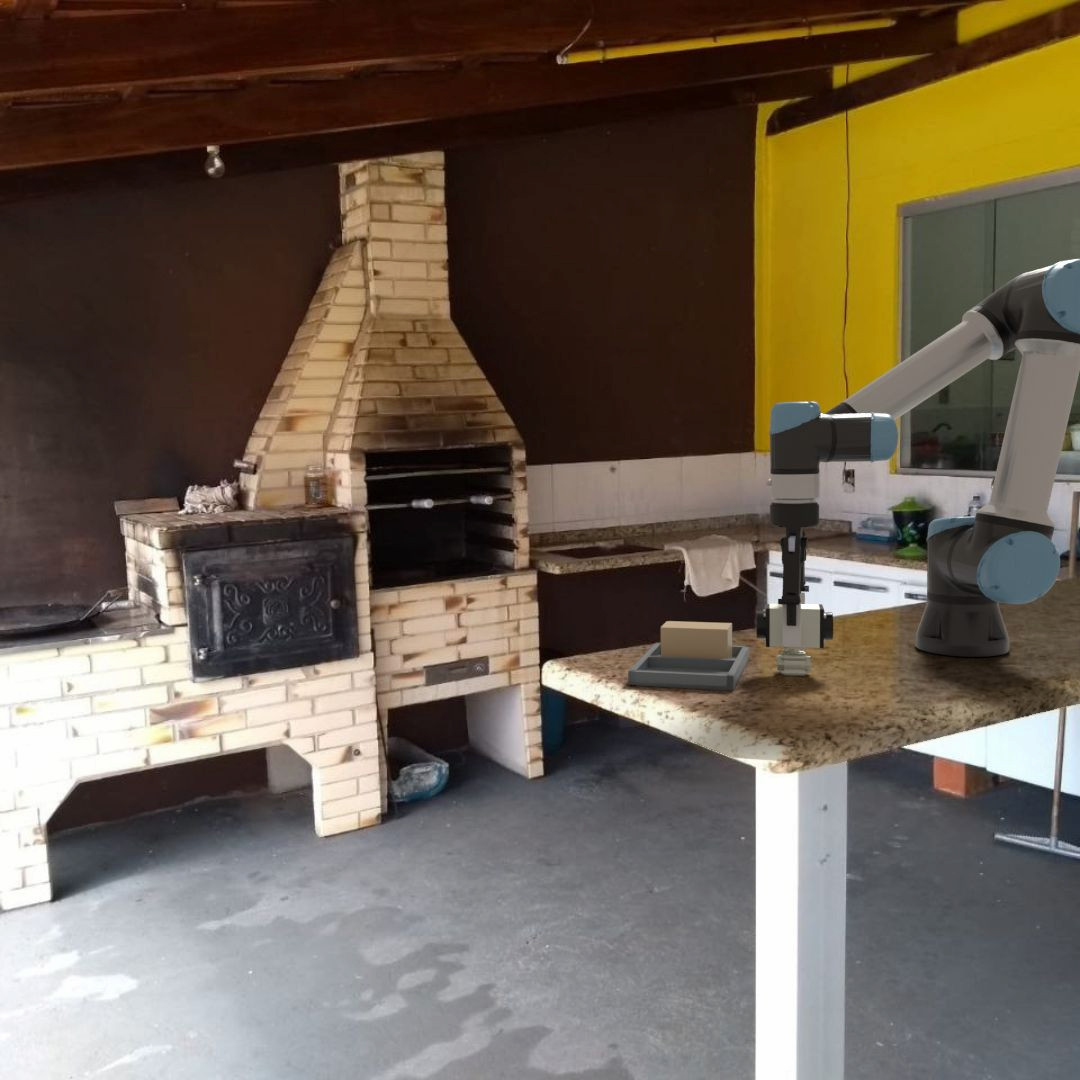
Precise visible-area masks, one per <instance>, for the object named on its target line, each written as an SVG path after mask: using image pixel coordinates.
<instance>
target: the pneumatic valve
mask: <svg viewBox="0 0 1080 1080" xmlns="http://www.w3.org/2000/svg"><path fill="white" fill-rule="evenodd" d="M755 613H756V615H755V616H756V619H755V620H756V621H755V622H756V623H755V624H756V629H755V631H756V637H755V638H756V640H760V639H761V640H763V642H765V647H766V648H783V649H784V650H783V651H781V652H780V655H777V656H776V670H777V671H780V674H781V675H783V676H787V677H789V676H790V677H799V676H800V677H805V676H807V674H808V672H811V671H812V656H811V655H809V656H808V655H807V652H805V649H824V648H825V643H826V642H827V641H833V640H834V613H833V612H830V611H827V612H826V611H825V609H824V605H823V604H821V603H819V604H816V603H813V604H812V603H811V604H809V603H805V604H801V647H792V646H782V642H783V604H778V603H765V609H763V610H761V611H759V610H757V611H756V612H755Z"/></svg>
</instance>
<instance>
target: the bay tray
mask: <svg viewBox="0 0 1080 1080" xmlns="http://www.w3.org/2000/svg"><path fill="white" fill-rule="evenodd" d="M749 659H750V646H749V645H733V623H732V622H710V621H709V622H707V621H706V622H705V621H680V620H679V621H676V620H675V621H674V620H669V621H668V620H667V621H665V623H663V624H662V625H661V626H660V642H655V643H654V644H653V645H652V646H651V647H650V648H649V649H648V650H647V652H646V653H644V654H643V655H642V656H641V657H640V658H639V659H638V660H637V662H636V663H635V664H633V666H632V667H631V668H630V669H628V671H627V676H628V677H627V679H628V680H627V682H628V686H630V685H636V687H650V688H651V687H655V688H669V689H670V688H672V689H673V688H674V689H675V688H676V689H691V690H692V689H694V690H695V689H697V690H713V691H732V692H733V691H734V690H735V688H736V686H737V685H738V683H739V680H740V679H741V676H742V674H743V672H744V669H745V668H746V666H747V665H748V662H749Z"/></svg>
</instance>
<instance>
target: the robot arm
mask: <svg viewBox="0 0 1080 1080" xmlns="http://www.w3.org/2000/svg"><path fill="white" fill-rule="evenodd" d="M1014 350H1018V351H1019V353H1020V354H1021V360H1020V365H1019V368H1018V373H1017V377H1016V378H1017V379H1016V383H1015V387H1014V392H1013V396H1012V400H1011V404H1010V409H1009V413H1008V418H1007V423H1006V427H1005V432H1004V436H1003V441H1002V445H1001V449H1000V454H999V459H998V462H997V466H996V467H997V468H996V471H995V477H994V481H993V485H992V489H991V492H990V493H991V494H990V499H989V501H988V503H987V504H985V505H984V506H982V507H981V508H980V509H978V510H976V513H975V515H974V516H958V517H957V516H956V517H942V518H935V519H933V520H932V521H930V523H929V524H928V527H927V528H928V529H927V537H926V543H927V544H926V545H927V547H926V549H927V552H926V555H927V557H926V559H927V560H926V561H927V562H926V564H927V565H926V568H927V569H926V571H927V572H926V604H925V608H924V610H923V614H922V616H921V619H920V621H919V624H918V627H917V630H916V633H915V647H916V648H917V649H918V650H920V651H923V652H927V653H931V654H937V655H941V656H942V655H943V656H950V657H972V658H973V657H974V658H975V657H976V658H977V657H978V658H979V657H982V658H983V657H995V656H1001V655H1005V654H1007V653H1009V651H1010V636H1009V634H1008V630H1007V627H1006V625H1005V622H1004V618H1003V616H1002V612H1001V610H1000V609H1001V608H1000V603H1002V604H1011V605H1023V604H1028V603H1029V604H1030V603H1031V602H1033V601H1036V600H1038V599H1039V598H1041V597H1044V596H1045V594H1047V593H1048V592H1049V591H1050V590H1051V588H1053V586H1054V585H1055V583H1056V581H1057V580H1058V576H1059V573H1060V569H1061V557H1060V553H1059V551H1058V550H1057V548H1056V545H1055V544H1054V543H1053V541H1052V539H1053V535H1054V531H1055V525H1056V524H1055V523H1054V522H1053V521H1052V519H1051V518H1050V516H1049V514H1048V510H1049V509H1048V508H1049V505H1050V501H1051V497H1052V492H1053V487H1054V483H1055V479H1056V475H1057V470H1058V466H1059V461H1060V458H1061V453H1062V448H1063V444H1064V440H1065V435H1066V431H1067V428H1068V424H1069V423H1068V422H1069V418H1070V415H1071V409H1072V406H1073V402H1074V396H1075V392H1076V388H1077V384H1078V379H1079V375H1080V258H1075V259H1065V260H1060V261H1059V262H1056V263H1054V264H1052V265H1049V266H1045V267H1042V268H1038V269H1035V270H1030V271H1027V272H1024V273H1022V274H1019V275H1018V276H1016V277H1014V278H1013V279H1011V280H1009V281H1008V282H1006V283H1005V284H1004V285H1002V286H1001V287H999V288H998V289H997V290H995V291H994V292H993V293H991V294H990V295H989V296H987V297H985V298H984V299H983V300H981V301H980V302H979V303H977V304H976V305H975V306H973V307H972V308H970V309H969V310H968V311H966V312H964V313H963V315H962V319H961V322H960V323H958V324H957V325H955V326H954V327H952V328H951V329H950V330H948V331H946V332H945V333H944V334H942V335H940V336H939V337H938V338H936V339H934V340H933V341H931V342H930V343H929V344H927V345H925V346H924V347H923V348H921V349H919V350H918V351H916V352H915V353H913V354H912V355H911V356H909V357H907V358H905V360H903V361H901V362H900V363H898V364H897V365H895V366H894V367H892V368H891V369H889V370H888V371H886V372H885V373H883V374H882V375H881V376H879V377H878V378H876V379H874V380H872V381H871V382H869V384H867V385H865V386H863V387H862V388H861V389H860V390H858V391H856V392H855V393H853V394H852V395H851V396H849V397H848V398H846V399H844V400H843V401H842V402H840V403H839V404H837V405H836V406H834V407H832V408H831V409H829V410H828V411H826V412H824V413H822V412H821V409H820V404H819V403H818V402H817V401H786V402H777V403H775V404H774V405H773V406H772V407H771V410H770V417H769V418H770V419H769V432H768V434H769V456H770V457H769V458H770V460H769V461H770V466H769V467H770V475H769V476H770V479H767V480H766V481H765V485H766V486H767V487H770V488H769V491H770V492H769V493H770V494H769V495H770V496H769V498H770V499H772V500H773V501H772V502H771V503H770V504H769V524H770V525H771V526H773V527H774V528H775V527H776V528H785V536H782V538H780V548H781V564H782V592H781V593H782V596H781V598H777V604H783V642H782V646H792V647H801V604H806V593H809V592H810V585H806V584H807V583H806V582H807V581H806V574H805V572H806V570H805V569H806V568H805V566H806V565H805V562H806V561H807V549H808V544H809V543H808V541H809V539H808V537H805V536H806V532H805V530H804V529H803V528H813V527H816V526H818V525H819V523H820V504H819V503H818V502H816V500H818V499H819V498H820V496H821V495H820V493H821V492H820V488H821V487H820V483H821V482H820V481H821V479H820V477H821V475H820V463H833V462H834V463H842V462H843V463H853V462H854V463H855V462H857V463H858V462H870V463H874V462H881V461H888V460H890V459H891V458H893V456H895V454H896V450H897V447H898V444H899V431H898V424H897V422H896V420H897V419H899V418H901V416H903V415H905V414H906V413H908V412H909V411H911V410H912V409H914V408H915V407H917V406H918V405H920V404H922V403H923V402H925V401H926V400H927V399H929V398H930V397H931V396H934V395H936V393H938V392H940V391H942V389H944V388H946V387H948V385H950V384H951V383H954V382H955V381H956V380H958V379H959V378H961V377H962V376H964V375H965V374H967V373H968V372H970V371H972V370H973V369H974V368H976V367H977V366H979V365H980V364H982V363H983V362H985V361H986V360H992V361H996V360H999V359H1001V358H1002V357H1004V356H1005V355H1007V354H1008V353H1010V352H1012V351H1014Z"/></svg>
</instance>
